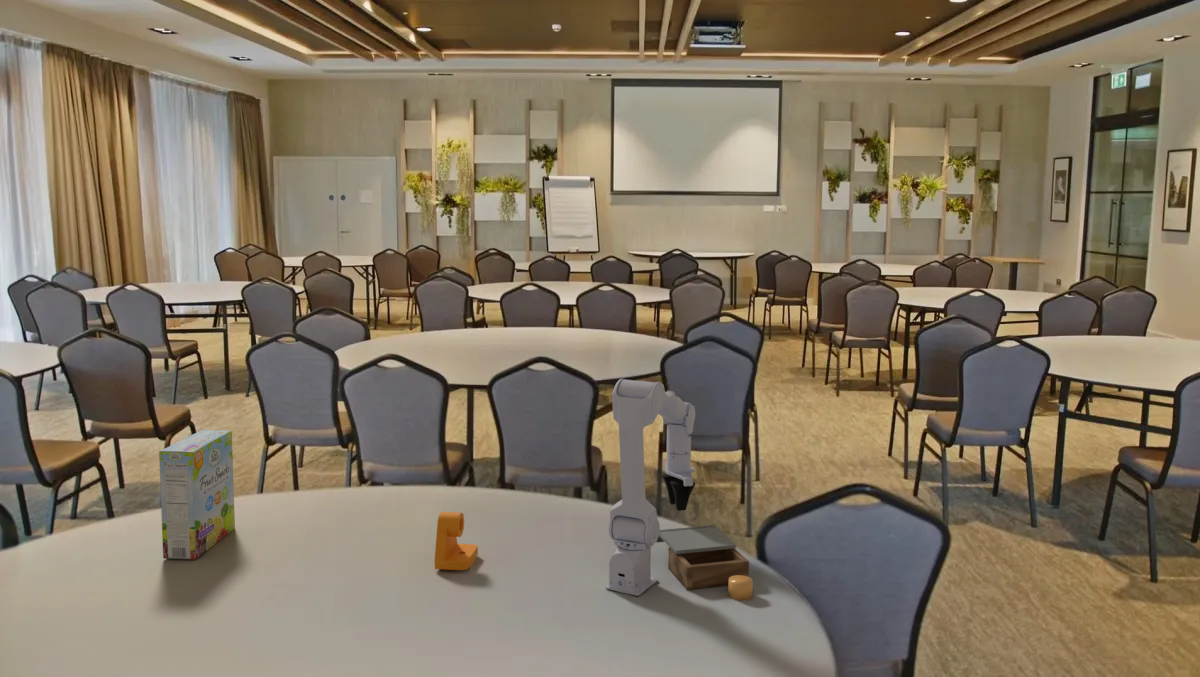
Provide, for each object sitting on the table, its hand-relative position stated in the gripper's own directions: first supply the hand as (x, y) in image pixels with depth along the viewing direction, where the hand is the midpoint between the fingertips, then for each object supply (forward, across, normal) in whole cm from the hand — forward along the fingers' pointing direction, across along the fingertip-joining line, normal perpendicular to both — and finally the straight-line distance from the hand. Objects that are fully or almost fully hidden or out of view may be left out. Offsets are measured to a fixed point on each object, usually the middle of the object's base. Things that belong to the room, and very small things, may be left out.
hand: (677, 506), depth 218 cm
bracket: (+10, +2, +52) cm, 53 cm away
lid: (+6, -12, 0) cm, 13 cm away
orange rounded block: (+10, -31, -3) cm, 32 cm away
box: (+9, -20, 0) cm, 22 cm away
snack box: (+10, +30, +110) cm, 115 cm away
